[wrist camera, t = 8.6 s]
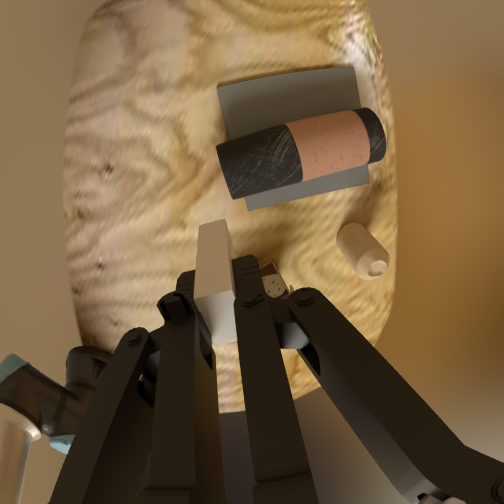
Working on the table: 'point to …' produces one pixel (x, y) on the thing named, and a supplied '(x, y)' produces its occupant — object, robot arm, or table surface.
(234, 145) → the travel mug
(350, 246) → the candle
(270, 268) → the food container
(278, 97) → the mat
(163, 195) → the table surface
